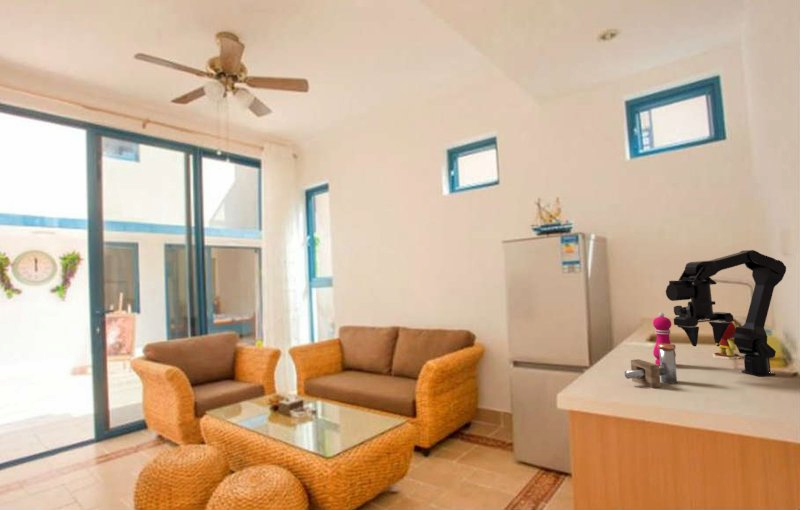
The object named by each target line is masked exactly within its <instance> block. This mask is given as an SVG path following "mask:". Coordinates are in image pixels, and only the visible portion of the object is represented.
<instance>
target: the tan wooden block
mask: <svg viewBox="0 0 800 510" xmlns="http://www.w3.org/2000/svg"><path fill="white" fill-rule="evenodd" d="M659 368H660V366H659V365H657V364H655V363H653V362H650V361H646V360H643V359H639V358H638V359H637V358H636V359H630V369H631V370H630V371H632V370H643V369H645V375H646V377H641V378H631V380H632V382H634V383H636V384H639V383H640V385H642V386H645V387H647V388H650V387H651V389H657V387H658V388H661V376H660V373H659Z"/></svg>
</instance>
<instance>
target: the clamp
mask: <svg viewBox="0 0 800 510" xmlns="http://www.w3.org/2000/svg"><path fill="white" fill-rule="evenodd" d="M658 348H659V357H660V366H659V373H660V382H662V383H665V382H666V383H667V384H677V383H678V378H677V377H678V376H677V364H676V356H675V354H676V348H677V347H676V344H674V343H671V344H668V343H661V344H658ZM624 377H625V378H626V379H632V378H641V377H645V378H646V375H645V369H643V370H632V371H631V370H625V371H624ZM676 382H677V383H676Z"/></svg>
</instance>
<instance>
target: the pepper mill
mask: <svg viewBox="0 0 800 510" xmlns="http://www.w3.org/2000/svg"><path fill="white" fill-rule="evenodd" d="M652 325H653V327H654V328H655V329H654V333H655V335H656V343H655V345H654V347H653V351H652V352H653V353H652V354H653V357H654V358H655V363H654V364H657V365H659V367H660V357H659V348H658V344H661V343H668V344H672V343H671V339H670V334H671V327H672V321H671V319H670V318H668V317H666V316H665V314H664V312H659V313H658V316H656V317H655V318H654V319H653V320H652ZM676 356H677V355H676V353H675V357H676Z"/></svg>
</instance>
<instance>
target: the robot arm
mask: <svg viewBox="0 0 800 510" xmlns="http://www.w3.org/2000/svg"><path fill="white" fill-rule="evenodd" d="M741 265H744V266H745V267H746V268H747V269H749V270H750V271H752V272H751V277H752V280H753V281H754V283H755V284H754V289H753V293H752V294H751V295H752V296H751V300H750V303H749V304H750V305H749V308H748V312H747V315H746V319H745V322H744V324H743V325H742V326H737V327H736V329H735V334H734V336H733V338H732V339H733V343H734V345H735V347H736V349H737V350H738V353H740V354H742V355H743V354H744V360H743V363H744V369H743V370H741V371H740V372H741V373H745V374H747V375H748V374H749V375H751V376H752V375H753V376H757V377H765V376H766V377H767V376H775V375H776V373H775V372H772V373H771V362H770V359H772V358H775V357H776V353H777V352H776V350H775V349H774V348H773V347H771V345H769V343H768V334H767V332H766V330H765V324H766V321H767V317H768V313H769V308H770V305H771V302H772V296H773V293H774V290H775V287H776V286H777V285H778V284H779V283H781V282H782V281H783V278H784V276H785V275H786V271H787V266H786V264H785V263H784V262H783V261H782V260H779V259H776V258H774V257H771V256H768V255H765V254H763V253H760V252H759V251H757V250H755V249H749V250H748V249H747V250H746V249H745V250H741V251H739V252H736V253H732V254H728V255H725V256H722V257H718V258H715V259H711V260H702V261H701V260H698V261H689V262H688V263H686V264H685V266H684V270H683V271H682V273H681V275H680V276H679V278H678V280H668V282H669V283H668V285H667V286H666V288H665V289H666V290H665V294H666V297H667V299H668V300H669V301H672V302H674V301H675V302H677V301H687V300H688V303H687V306H682V305H675V306H673V313H674V315H675V316H674V318H673V325H674V326H677V328H681V329H682V330H683V331H684V333H685V334H686V336H687V337H688V340H689V342H690V343H691V345H692V347H697V344H698V341H699V340H698V339H699V333H700V332H699V330H700V326H698V324H699V323H704V322H708V323H709V325H710V326H711V328H712V333H713V334H712V335H713V339H714V343H715V344H716V343H719V342H720V340H721V338H722V336H723V334H724V332H725V330H726V329H727V327H728V325H729V324H731V323H730V322H732V321H733V322H734V315H733V314H732V313H731V312H725V311H723V312H722V311H714V308H713V305H716V301H715V300H714V301H713V300H712V289H711V286H712V285H716V284H717V282H716V281H715V280H714V279H712V278H711V277H713V276H715V275H717V273H719V272H721V271H724V270H727V269H730V268H734V267H737V266H741ZM689 300H690V301H689ZM769 372H770V373H769Z"/></svg>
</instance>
